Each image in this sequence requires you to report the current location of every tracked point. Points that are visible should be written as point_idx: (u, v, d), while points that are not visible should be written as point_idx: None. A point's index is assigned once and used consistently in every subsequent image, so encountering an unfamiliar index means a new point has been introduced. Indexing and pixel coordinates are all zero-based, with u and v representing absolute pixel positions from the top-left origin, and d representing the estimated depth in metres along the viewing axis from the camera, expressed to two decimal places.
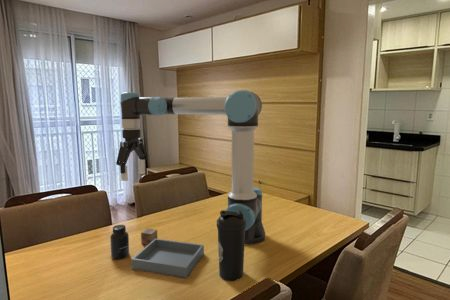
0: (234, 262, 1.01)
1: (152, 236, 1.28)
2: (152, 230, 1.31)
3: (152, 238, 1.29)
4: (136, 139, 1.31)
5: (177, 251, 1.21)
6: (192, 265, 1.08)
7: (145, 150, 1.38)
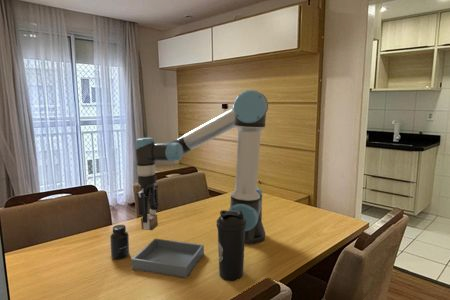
0: (234, 262, 1.01)
1: (152, 222, 1.27)
2: (152, 215, 1.30)
3: (153, 223, 1.28)
4: None
5: (177, 251, 1.21)
6: (192, 265, 1.08)
7: None
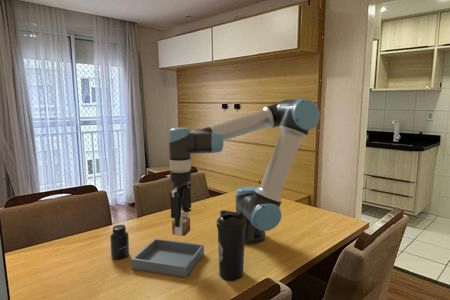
0: (234, 262, 1.01)
1: (185, 226, 1.09)
2: (184, 218, 1.12)
3: (185, 228, 1.10)
4: None
5: (177, 251, 1.21)
6: (192, 265, 1.08)
7: (190, 199, 1.16)
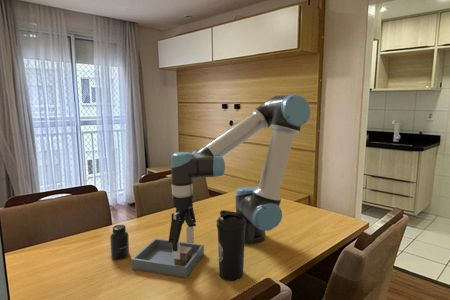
0: (234, 262, 1.01)
1: (187, 256, 1.10)
2: (186, 248, 1.13)
3: (187, 258, 1.11)
4: None
5: None
6: (192, 265, 1.08)
7: (194, 215, 1.19)
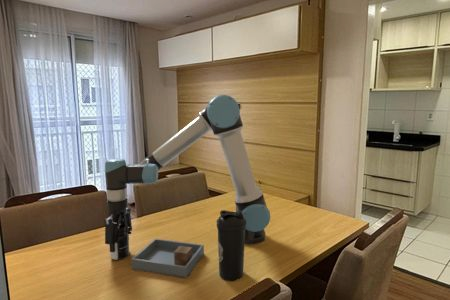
0: (234, 262, 1.01)
1: (187, 256, 1.10)
2: (186, 248, 1.13)
3: (187, 258, 1.11)
4: None
5: None
6: (192, 265, 1.08)
7: None
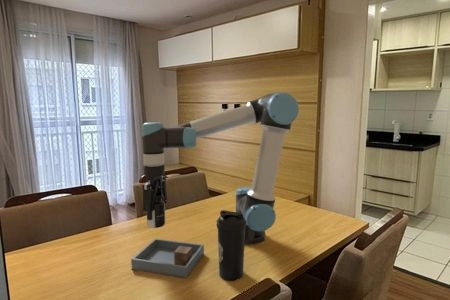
0: (234, 262, 1.01)
1: (187, 256, 1.10)
2: (186, 248, 1.13)
3: (187, 258, 1.11)
4: None
5: None
6: (192, 265, 1.08)
7: None
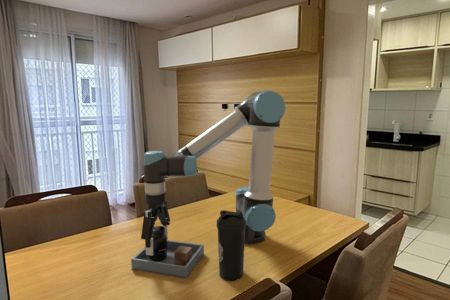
0: (234, 262, 1.01)
1: (187, 256, 1.10)
2: (186, 248, 1.13)
3: (187, 258, 1.11)
4: None
5: None
6: (192, 265, 1.08)
7: (168, 214, 1.21)
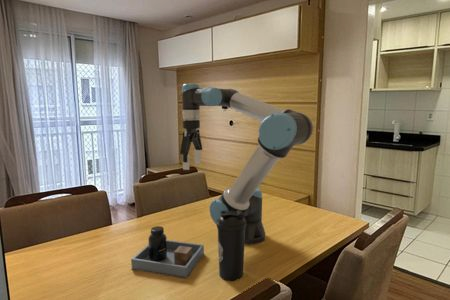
0: (234, 262, 1.01)
1: (187, 256, 1.10)
2: (186, 248, 1.13)
3: (187, 258, 1.11)
4: (195, 130, 1.35)
5: None
6: (192, 265, 1.08)
7: (200, 141, 1.42)
